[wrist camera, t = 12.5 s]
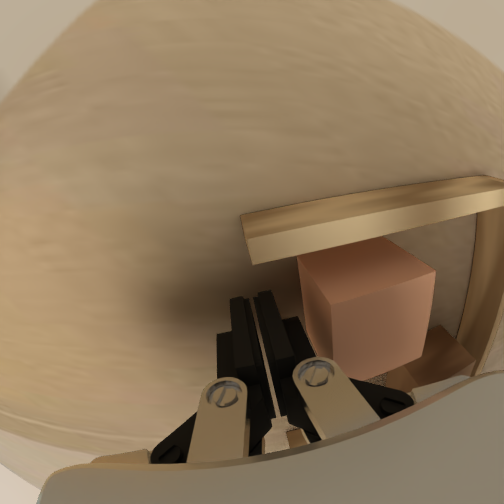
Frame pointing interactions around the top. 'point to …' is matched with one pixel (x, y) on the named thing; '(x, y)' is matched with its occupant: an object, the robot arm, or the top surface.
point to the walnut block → (432, 363)
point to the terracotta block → (366, 305)
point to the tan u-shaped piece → (391, 221)
